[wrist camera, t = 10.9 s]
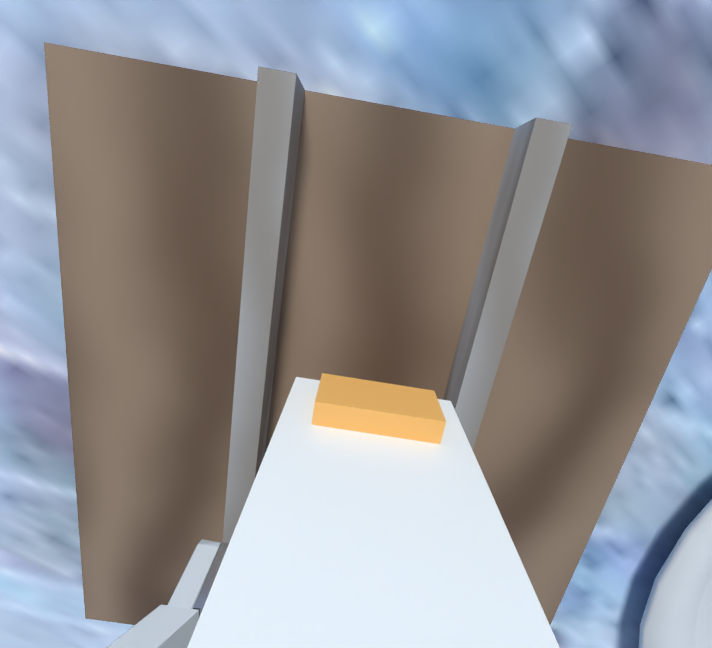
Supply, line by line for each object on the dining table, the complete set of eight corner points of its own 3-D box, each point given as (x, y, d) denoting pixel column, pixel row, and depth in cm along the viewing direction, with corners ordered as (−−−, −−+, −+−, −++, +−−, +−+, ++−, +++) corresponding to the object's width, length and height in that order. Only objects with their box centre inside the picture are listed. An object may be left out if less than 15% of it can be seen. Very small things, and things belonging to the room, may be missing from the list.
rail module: (270, 582, 13) (172, 973, 6) (298, 357, 11) (183, 619, 4) (397, 600, 13) (430, 1002, 7) (455, 382, 11) (608, 679, 4)
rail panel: (105, 588, 20) (61, 653, 17) (80, 61, 12) (-4, 18, 10) (514, 644, 20) (539, 716, 17) (712, 176, 13) (809, 168, 10)
